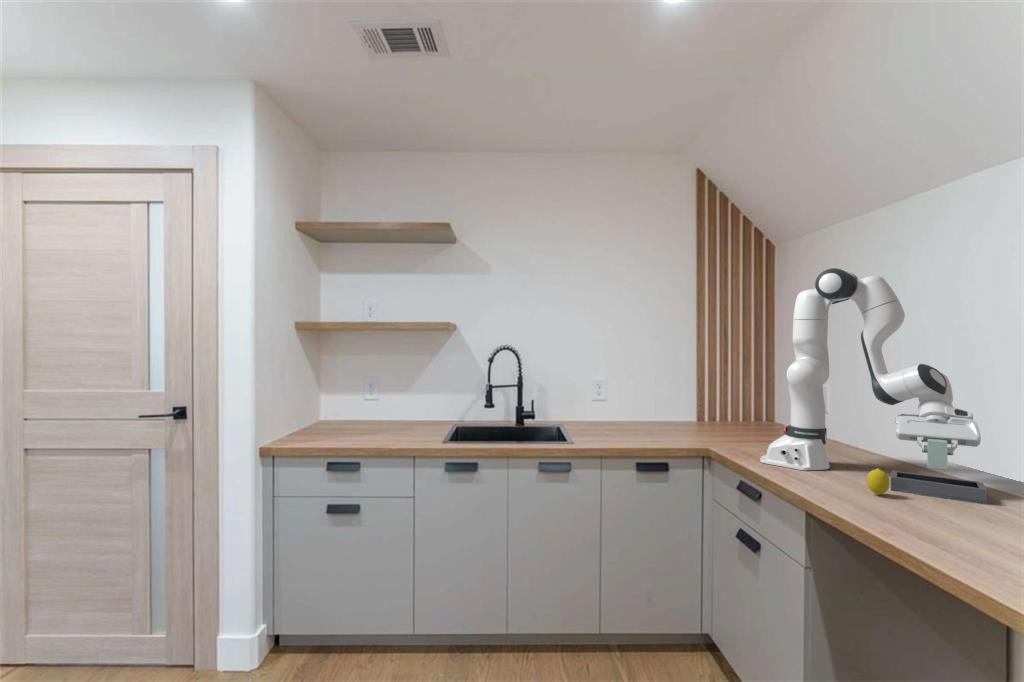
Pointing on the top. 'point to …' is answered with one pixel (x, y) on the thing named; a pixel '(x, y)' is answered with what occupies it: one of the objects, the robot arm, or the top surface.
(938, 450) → the door block
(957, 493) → the bottom track
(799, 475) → the top surface
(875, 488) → the lemon
